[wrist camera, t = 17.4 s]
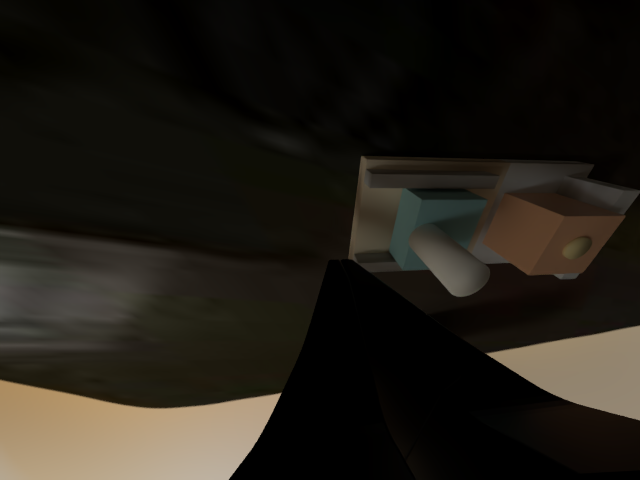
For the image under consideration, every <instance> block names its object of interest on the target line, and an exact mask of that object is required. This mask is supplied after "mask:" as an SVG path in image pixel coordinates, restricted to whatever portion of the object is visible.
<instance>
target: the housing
mask: <svg viewBox="0 0 640 480" xmlns="http://www.w3.org/2000/svg"><path fill="white" fill-rule="evenodd" d="M625 217H626V216H625V215H622V214H619V213H616V212H612V211H609V210H606V209H603V208H600V207H597V206H594V205H590V204H587V203H584V202H581V201H578V200H575V199H572V198H568V197H565V196H562V195H559V194H556V193H504V196H503V198H502V200H501V202H500V205H499V207H498V209H497V211H496V213H495V216H494V218H493V220H492V222H491V224H490V227H489V229H488V231H487V233H486V235H485V238H484V240H483V242H482V243H483V244H484V245H486V246H487V247H489V248H490V249H491V250H493V251H494V252H496V253H497V254H499V255H500V256H502V257H503V258H504V259H506V260H507V261H509V262H510V263H512V264H513V265H514V266H516V267H517V268H519V269H520V270H522V271H523V272H525V273H526V274H527V275H546V274H567V273H583V272H584V271H585V269H586V268H587V267H588V265H589V264H590V263H591V261H592V260H593V259H594V257H595V256H596V255H597V253H598V252H599V251H600V250H601V248H602V247H603V246H604V244H605V243H606V242H607V240H608V239H609V238H610V236H611V235H612V234H613V232H614V231H615V230H616V228H617V227H618V226H619V224H620V223H621V222H622V221H623V219H624V218H625Z"/></svg>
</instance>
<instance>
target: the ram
mask: <svg viewBox="0 0 640 480" xmlns="http://www.w3.org/2000/svg"><path fill="white" fill-rule="evenodd" d="M487 201H488V200H487V199H485V198H483V197H481V196H479V195H476V194H474V193H472V192H470V191H468V190H465V189H427V188H403V189H402V194H401V198H400V203H399V207H398V212H397V216H396V220H395V225H394V229H393V234H392V238H391V243H390V247H389V252H390V253H391V255H392V256H393V257H394V259H395V260H396V262H397V263H398V265H399V266H400V267H401V269H402V270H425V269H430V270H431V271H432V272H433V274H434V275H435V276H436V277H437V278H438V279H439V280H440V282H441V283H442V284H443V285H444V286H445V287H446V288H447V289H448V291H449V292H450V293H451V294H452V295H454V296H458V297H463V296H468V295H471V294H473V293H475V292H477V291H478V290H480V289H481V288H482V287H483V286H484V285H485V284H486V283H487V281H488V279H489V277H490V270H489V268H488V267H487V266H486V265H485V264H484V263H482V262H481V261H480V260H479V259H477V258H476V257H475V256H474V255H472V254H471V253H470V252H469V251H467V248H468V246H469V243H470V241H471V239H472V236H473V234H474V232H475V229H476V227H477V224H478V222H479V220H480V217H481V215H482V213H483V210H484V208H485V205H486V203H487Z"/></svg>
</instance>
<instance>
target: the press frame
mask: <svg viewBox="0 0 640 480" xmlns="http://www.w3.org/2000/svg"><path fill="white" fill-rule="evenodd" d="M593 167H594V164H588V163H583V162H577V161H548V160H508V159H468V158H428V157H388V156H361V163H360V171H359V179H358V187H357V195H356V203H355V211H354V219H353V227H352V235H351V243H350V251H349V259H352V260H354V261H355V262H356V263H358V264H359V265H360V266H362V267H363V268H365V269H366V270H367V271H369V272H385V271H409V270H402V269H401V267H400V266H399V265H398V263H397V262H396V260H395V259H394V257H393V256H392V255H391V253H390V252H389V247H390V243H391V238H392V234H393V229H394V225H395V220H396V216H397V212H398V207H399V203H400V198H401V194H402V189H403V188H427V189H465V190H468V191H470V192H472V193H474V194H476V195H479V196H481V197H483V198H485V199H487V200H488V201H487V203H486V205H485V208H484V210H483V213H482V215H481V217H480V220H479V222H478V224H477V227H476V229H475V232H474V234H473V236H472V239H471V241H470V243H469V246H468V248H467V251H469V252H470V253H471V254H472V255H474V256H475V257H476V258H477V259H479V260H480V261H481V262H482V263H484V264H489V263H510V262H509V261H507V260H506V259H504V258H503V257H502V256H500V255H499V254H497V253H496V252H494V251H493V250H491V249H490V248H489V247H487V246H486V245H484V244H483V243H482V242H483V240H484V238H485V235H486V233H487V231H488V229H489V227H490V224H491V222H492V220H493V218H494V216H495V213H496V211H497V209H498V207H499V205H500V202H501V200H502V198H503V196H504V193H556V194H559V195H562V196H565V197H568V198H572V199H575V200H578V201H581V202H584V203H587V204H590V205H594V206H597V207H600V208H603V209H606V210H609V211H612V212H616V213H619V214H622V215H624V213H625V212H626V211H627V209H628V208H629V207H630V205H631V204H632V203H633V201H634V200H635V199H636V197H637V196H638V195H639V193H640V190H636V189H632V188H627V187H623V186H619V185H615V184H610V183H606V182H602V181H598V180H593V179H589V178H587V177H588V175H589V173H590V172H591V170H592V168H593ZM425 270H430V269H425ZM578 274H579V273H567V274H553V275H555V276H556V277H558V278H559V279H575V278H576V277H577V276H578Z"/></svg>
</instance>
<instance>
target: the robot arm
mask: <svg viewBox="0 0 640 480" xmlns="http://www.w3.org/2000/svg"><path fill="white" fill-rule="evenodd" d="M229 480H640V421H639V420H636V419H632V418H628V417H624V416H620V415H617V414H612V413H609V412H605V411H601V410H597V409H594V408H590V407H586V406H583V405H579V404H576V403H573V402H570V401H568V400H564V399H562V398H560V397H558V396H555V395H553V394H551V393H549V392H547V391H545V390H543V389H541V388H539V387H538V386H536V385H534V384H533V383H531V382H529V381H528V380H526V379H525V378H523V377H521V376H520V375H518V374H517V373H515V372H514V371H512V370H510V369H509V368H507V367H506V366H504V365H503V364H501V363H499V362H498V361H496V360H495V359H493V358H491V357H490V356H488V355H487V354H485V353H483V352H482V351H480V350H479V349H477V348H476V347H474V346H472V345H471V344H469V343H468V342H466V341H465V340H463V339H462V338H460V337H459V336H457V335H456V334H454V333H453V332H451V331H450V330H449V329H447V328H446V327H444V326H443V325H441V324H440V323H439V322H437V321H436V320H434V319H433V318H432V317H430V316H429V315H426V313H425V312H423V311H422V310H421V309H419V308H418V307H417V306H415V305H414V304H412V303H411V302H410V301H408V300H407V299H406V298H404V297H403V296H401V295H400V294H399V293H397V292H396V291H395V290H393V289H392V288H391V287H389V286H388V285H386V284H385V283H384V282H382V281H381V280H380V279H378V278H377V277H375V276H374V275H373V274H371V273H370V272H369V271H367V270H366V269H365V268H363V267H362V266H360V265H359V264H358V263H356V262H355V261H354V260H352V259H342V260H341V261H340V260H329V262H328V265H327V269H326V272H325V275H324V279H323V282H322V286H321V289H320V292H319V296H318V299H317V303H316V306H315V309H314V313H313V316H312V319H311V323H310V326H309V329H308V332H307V335H306V338H305V341H304V344H303V347H302V350H301V352H300V354H299V357H298V359H297V361H296V364H295V366H294V368H293V370H292V372H291V374H290V377H289V379H288V381H287V383H286V385H285V387H284V389H283V391H282V393H281V396H280V398H279V400H278V402H277V404H276V406H275V408H274V411H273V413H272V414H271V416H270V418H269V420H268V422H267V424H266V426H265V428H264V430H263V432H262V433H261V435H260V437H259V439H258V441H257V442H256V443H255V445H254V447H253V448H252V450H251V451H250V452H249V454H248V455H247V456H246V458H245V459H244V460H243V462H242V463H241V464H240V465H239V467H238V468H237V469H236V471H235V472H234V473H233V475H232V476H231V477H230V479H229Z"/></svg>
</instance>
